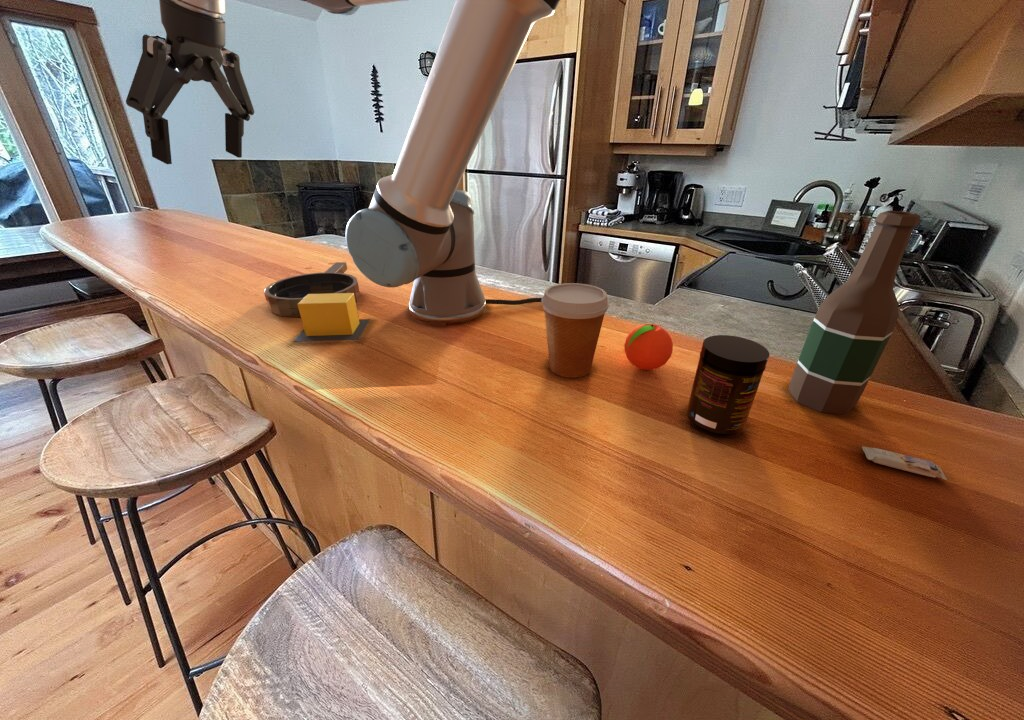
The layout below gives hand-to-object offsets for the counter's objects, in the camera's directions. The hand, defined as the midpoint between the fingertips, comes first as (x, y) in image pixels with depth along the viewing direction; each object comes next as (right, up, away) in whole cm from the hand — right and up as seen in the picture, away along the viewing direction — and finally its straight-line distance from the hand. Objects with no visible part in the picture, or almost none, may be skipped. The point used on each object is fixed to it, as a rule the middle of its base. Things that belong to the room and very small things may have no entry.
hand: (200, 157), depth 70 cm
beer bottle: (+95, -40, -15) cm, 104 cm away
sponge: (+21, -29, +4) cm, 36 cm away
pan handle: (+11, -15, +28) cm, 34 cm away
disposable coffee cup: (+62, -36, -7) cm, 72 cm away
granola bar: (+95, -46, -26) cm, 109 cm away
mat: (+21, -30, +4) cm, 37 cm away
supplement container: (+78, -43, -20) cm, 91 cm away
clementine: (+73, -36, -8) cm, 82 cm away
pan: (+12, -23, +16) cm, 31 cm away
